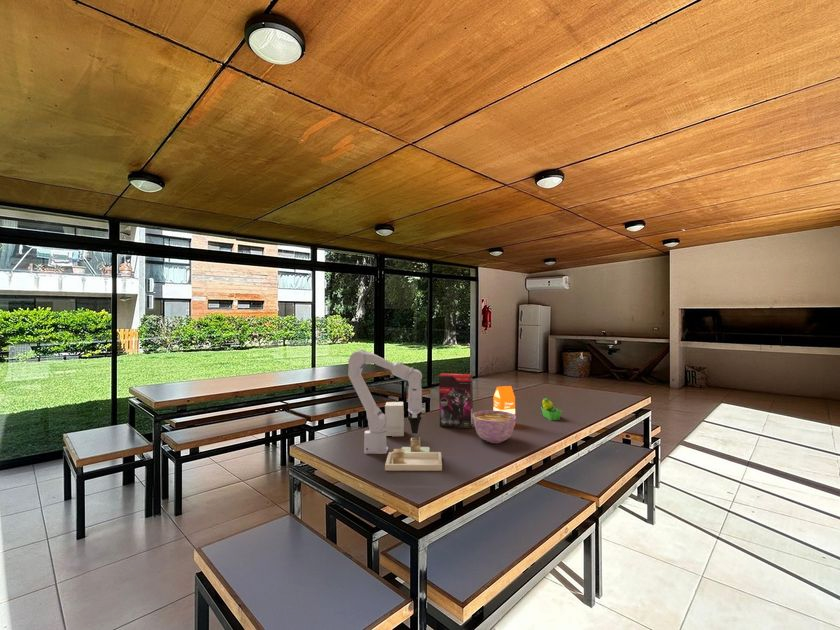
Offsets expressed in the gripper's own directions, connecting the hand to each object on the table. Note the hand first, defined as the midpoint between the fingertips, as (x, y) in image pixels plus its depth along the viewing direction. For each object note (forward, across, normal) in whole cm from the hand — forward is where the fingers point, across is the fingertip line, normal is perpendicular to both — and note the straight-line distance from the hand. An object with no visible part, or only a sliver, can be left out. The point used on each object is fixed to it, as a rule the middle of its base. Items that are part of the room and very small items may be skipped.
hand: (415, 430), depth 168 cm
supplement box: (+10, +26, +11) cm, 30 cm away
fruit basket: (+9, +56, -74) cm, 93 cm away
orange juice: (+9, +44, -46) cm, 64 cm away
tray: (+9, -14, 0) cm, 17 cm away
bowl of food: (+9, +16, -36) cm, 41 cm away
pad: (+9, 0, 0) cm, 9 cm away
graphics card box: (+9, +39, -20) cm, 45 cm away
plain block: (+9, -14, +6) cm, 18 cm away
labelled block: (+9, 0, 0) cm, 9 cm away
